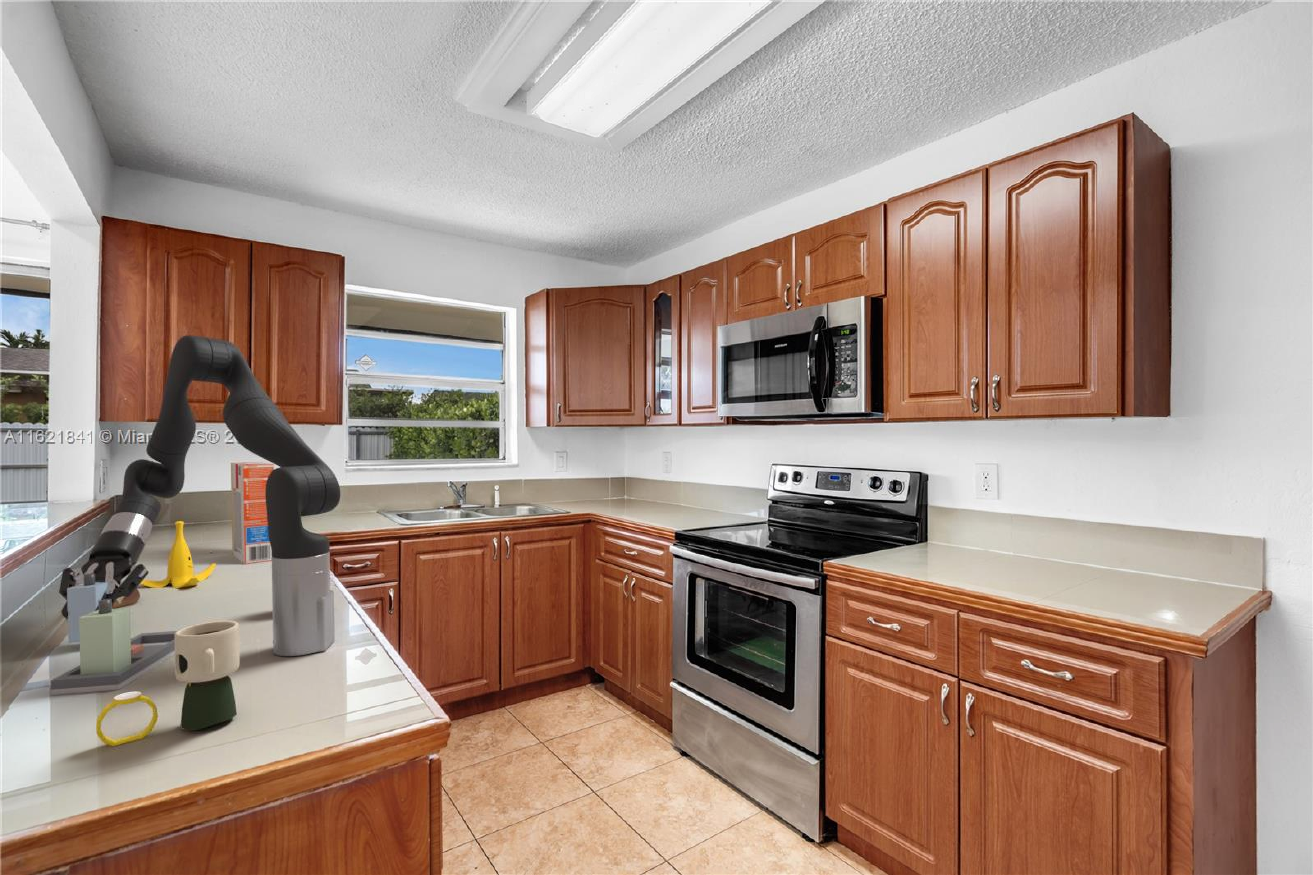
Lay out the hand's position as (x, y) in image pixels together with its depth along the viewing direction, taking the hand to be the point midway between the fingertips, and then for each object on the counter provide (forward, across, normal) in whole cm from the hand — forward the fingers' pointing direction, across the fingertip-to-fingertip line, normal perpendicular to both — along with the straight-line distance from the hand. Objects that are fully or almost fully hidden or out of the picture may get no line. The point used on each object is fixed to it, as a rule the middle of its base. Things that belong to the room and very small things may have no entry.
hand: (83, 616), depth 117 cm
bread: (-19, -16, +28) cm, 38 cm away
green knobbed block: (+17, +14, -9) cm, 23 cm away
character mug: (+32, +38, -23) cm, 55 cm away
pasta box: (-59, -6, +67) cm, 89 cm away
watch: (+34, +30, -25) cm, 52 cm away
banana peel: (-33, -12, +42) cm, 55 cm away
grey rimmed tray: (+13, +14, -4) cm, 19 cm away
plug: (+2, 0, +5) cm, 5 cm away
